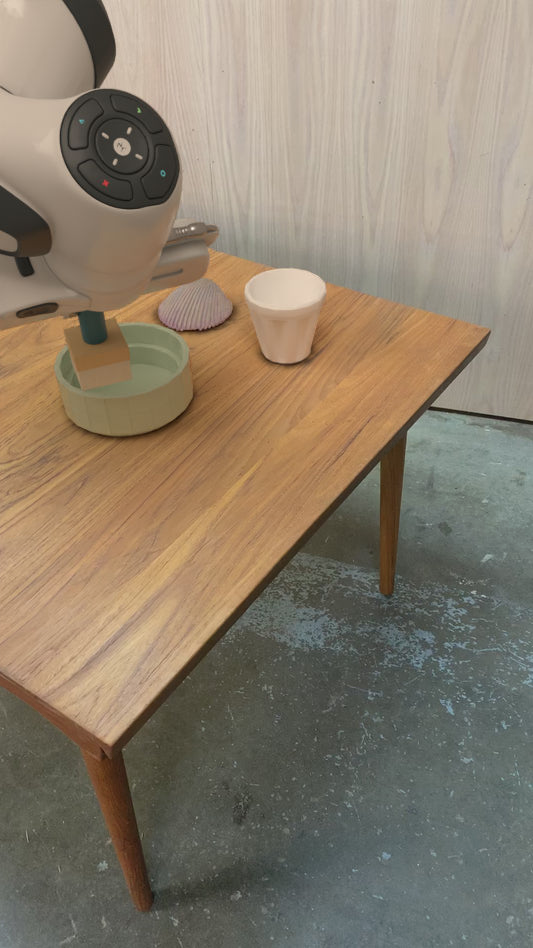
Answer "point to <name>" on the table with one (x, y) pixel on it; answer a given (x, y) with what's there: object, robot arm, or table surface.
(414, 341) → the table surface
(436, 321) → the table surface
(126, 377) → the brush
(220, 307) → the seashell
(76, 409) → the bowl
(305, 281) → the cup
